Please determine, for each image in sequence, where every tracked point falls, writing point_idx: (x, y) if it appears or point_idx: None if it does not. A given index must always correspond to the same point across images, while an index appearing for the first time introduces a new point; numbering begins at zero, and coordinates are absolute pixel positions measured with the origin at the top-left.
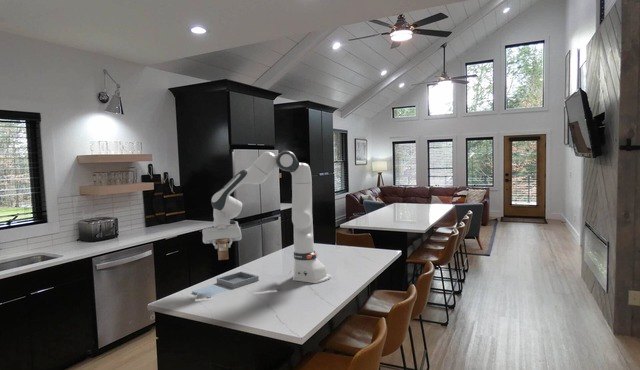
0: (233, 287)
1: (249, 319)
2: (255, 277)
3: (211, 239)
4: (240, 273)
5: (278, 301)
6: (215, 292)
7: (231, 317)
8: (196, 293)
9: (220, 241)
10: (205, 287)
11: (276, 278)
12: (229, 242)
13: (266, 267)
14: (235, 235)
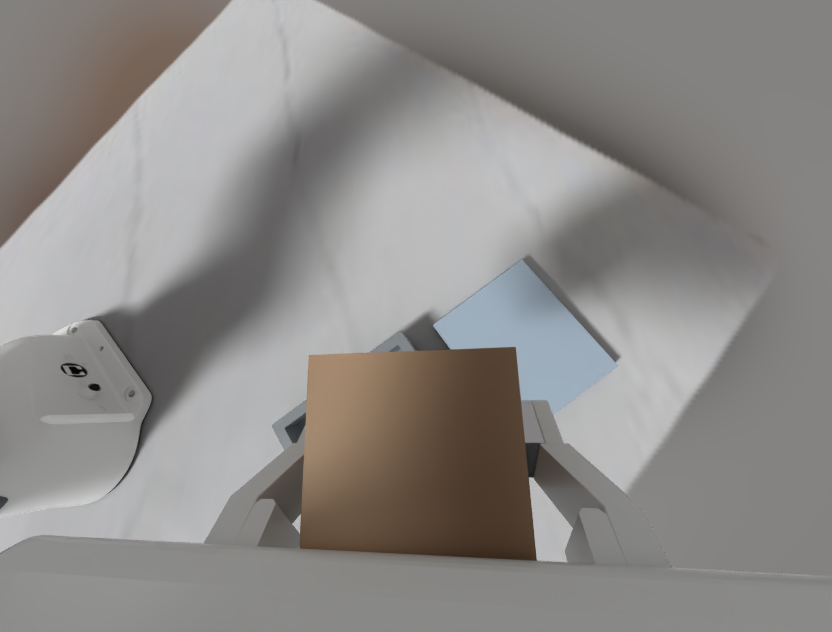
0: (405, 335)
1: (361, 59)
2: (289, 412)
3: (723, 574)
4: None
5: (260, 173)
6: (488, 303)
7: (412, 79)
8: (585, 332)
9: (445, 351)
10: (554, 404)
11: (206, 458)
12: (300, 456)
13: None
14: (54, 599)
